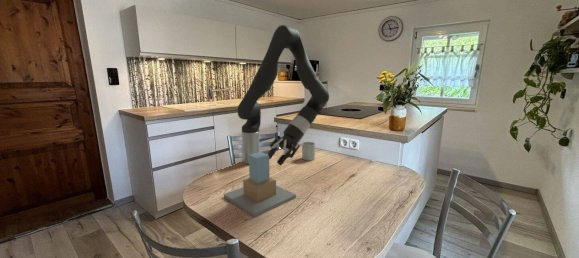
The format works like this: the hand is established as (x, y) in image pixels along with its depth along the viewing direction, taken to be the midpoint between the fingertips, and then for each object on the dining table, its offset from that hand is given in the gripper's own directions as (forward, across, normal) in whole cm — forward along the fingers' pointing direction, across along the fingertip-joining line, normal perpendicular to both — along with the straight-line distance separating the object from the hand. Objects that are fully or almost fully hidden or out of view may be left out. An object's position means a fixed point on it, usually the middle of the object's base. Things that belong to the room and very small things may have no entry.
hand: (273, 160), depth 100 cm
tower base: (+14, 0, +5) cm, 15 cm away
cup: (-18, -27, +38) cm, 50 cm away
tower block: (+9, 0, 0) cm, 9 cm away
